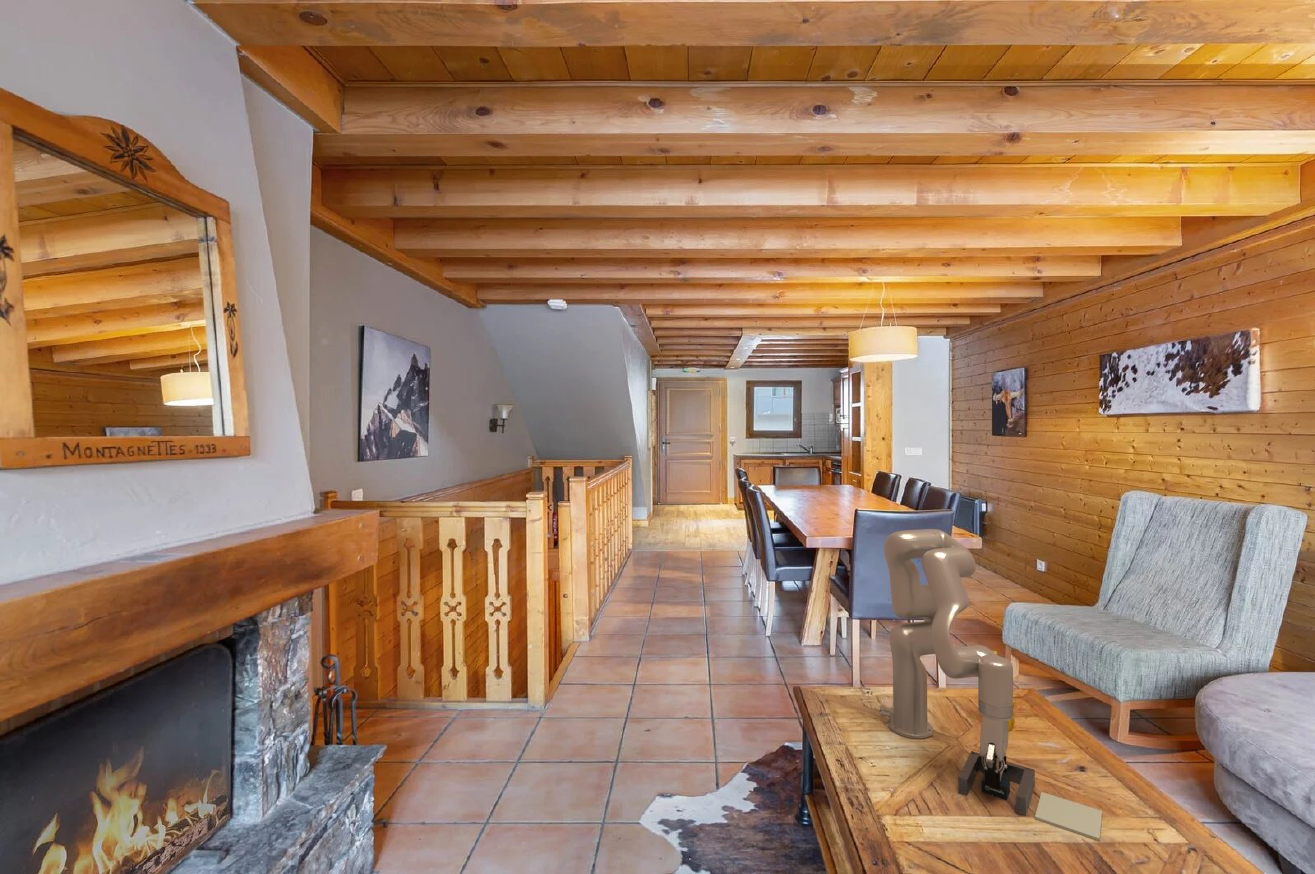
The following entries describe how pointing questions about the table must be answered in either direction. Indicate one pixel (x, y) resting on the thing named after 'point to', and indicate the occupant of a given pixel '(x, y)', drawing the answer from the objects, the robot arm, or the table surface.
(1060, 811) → the sage mat
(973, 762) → the u-shaped metal bracket
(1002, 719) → the robot arm
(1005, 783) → the watch
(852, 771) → the table surface
